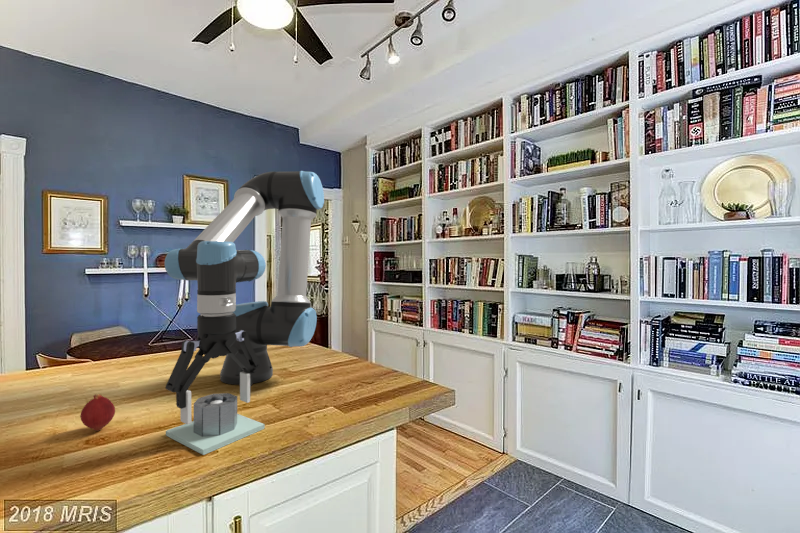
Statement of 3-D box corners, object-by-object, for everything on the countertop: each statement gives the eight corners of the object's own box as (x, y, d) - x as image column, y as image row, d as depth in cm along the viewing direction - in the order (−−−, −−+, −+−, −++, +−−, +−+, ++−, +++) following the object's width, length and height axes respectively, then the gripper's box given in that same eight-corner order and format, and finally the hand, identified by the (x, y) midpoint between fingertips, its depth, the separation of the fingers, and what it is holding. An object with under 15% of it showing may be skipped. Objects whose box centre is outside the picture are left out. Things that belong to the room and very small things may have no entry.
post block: (165, 435, 83) (165, 404, 83) (226, 413, 95) (226, 386, 94) (203, 455, 75) (203, 421, 75) (264, 428, 87) (264, 399, 87)
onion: (93, 424, 87) (93, 388, 87) (120, 424, 88) (120, 388, 88) (74, 436, 82) (73, 398, 81) (103, 436, 82) (103, 398, 82)
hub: (187, 429, 84) (187, 401, 83) (222, 416, 90) (222, 390, 90) (208, 439, 79) (209, 410, 79) (243, 425, 86) (244, 398, 86)
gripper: (164, 324, 72) (166, 438, 73) (276, 308, 93) (275, 396, 94) (144, 319, 76) (146, 427, 77) (255, 305, 97) (255, 390, 98)
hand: (217, 411), depth 85 cm, fingers open, 13 cm apart
